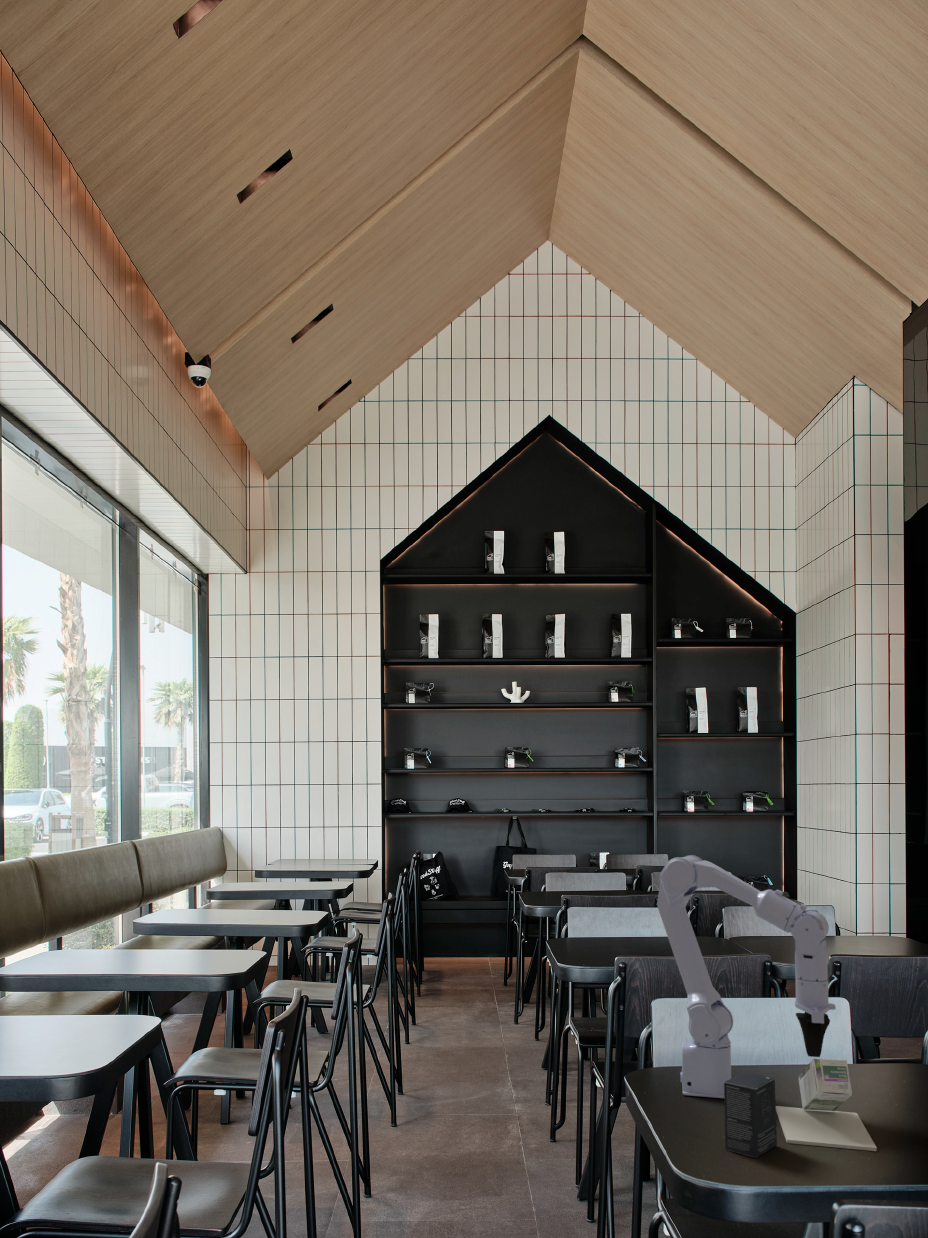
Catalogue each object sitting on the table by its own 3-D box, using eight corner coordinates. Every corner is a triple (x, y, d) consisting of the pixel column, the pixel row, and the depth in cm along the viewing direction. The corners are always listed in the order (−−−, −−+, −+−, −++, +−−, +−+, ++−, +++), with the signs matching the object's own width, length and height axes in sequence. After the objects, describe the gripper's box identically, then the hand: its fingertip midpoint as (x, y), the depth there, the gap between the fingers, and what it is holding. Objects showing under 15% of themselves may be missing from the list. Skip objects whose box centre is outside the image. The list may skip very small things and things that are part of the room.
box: (745, 1138, 169) (744, 1071, 170) (777, 1146, 165) (776, 1078, 167) (723, 1150, 163) (722, 1080, 164) (757, 1159, 159) (755, 1088, 161)
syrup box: (829, 1077, 185) (847, 1057, 173) (834, 1113, 181) (853, 1094, 170) (797, 1076, 186) (813, 1056, 174) (802, 1111, 182) (818, 1093, 170)
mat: (786, 1143, 167) (786, 1140, 167) (775, 1109, 184) (775, 1106, 184) (876, 1151, 164) (876, 1148, 164) (856, 1116, 181) (856, 1113, 181)
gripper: (840, 987, 179) (843, 1068, 177) (828, 973, 193) (830, 1047, 191) (799, 985, 181) (801, 1065, 179) (789, 970, 195) (791, 1044, 193)
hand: (813, 1056), depth 185 cm, fingers closed
